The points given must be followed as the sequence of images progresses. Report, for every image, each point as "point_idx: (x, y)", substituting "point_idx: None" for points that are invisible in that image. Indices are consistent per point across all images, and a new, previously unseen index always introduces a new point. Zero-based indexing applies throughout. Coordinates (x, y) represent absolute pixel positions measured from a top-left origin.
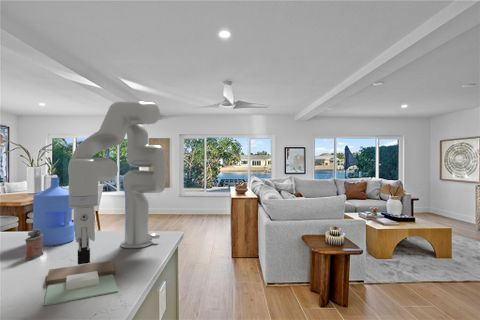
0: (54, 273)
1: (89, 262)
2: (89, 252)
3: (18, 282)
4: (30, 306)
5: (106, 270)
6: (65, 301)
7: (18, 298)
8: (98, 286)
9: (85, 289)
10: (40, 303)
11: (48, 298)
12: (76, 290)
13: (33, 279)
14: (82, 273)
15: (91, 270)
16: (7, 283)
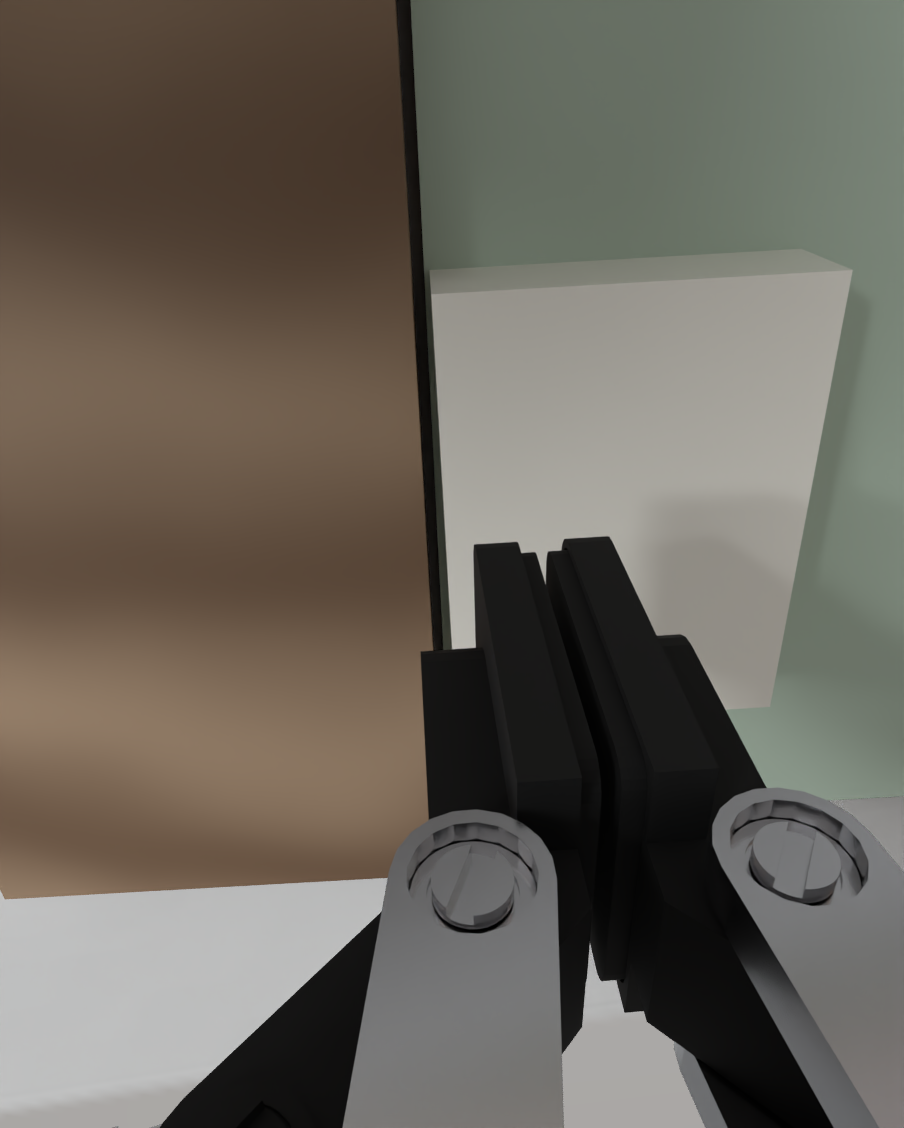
0: (189, 835)
1: (608, 541)
2: (677, 706)
3: (214, 1013)
4: (900, 859)
5: (328, 75)
6: None
7: None
8: (899, 252)
9: (883, 439)
10: (892, 806)
11: (869, 774)
12: (838, 544)
13: (166, 936)
14: (450, 538)
15: (219, 385)
16: (211, 1066)
